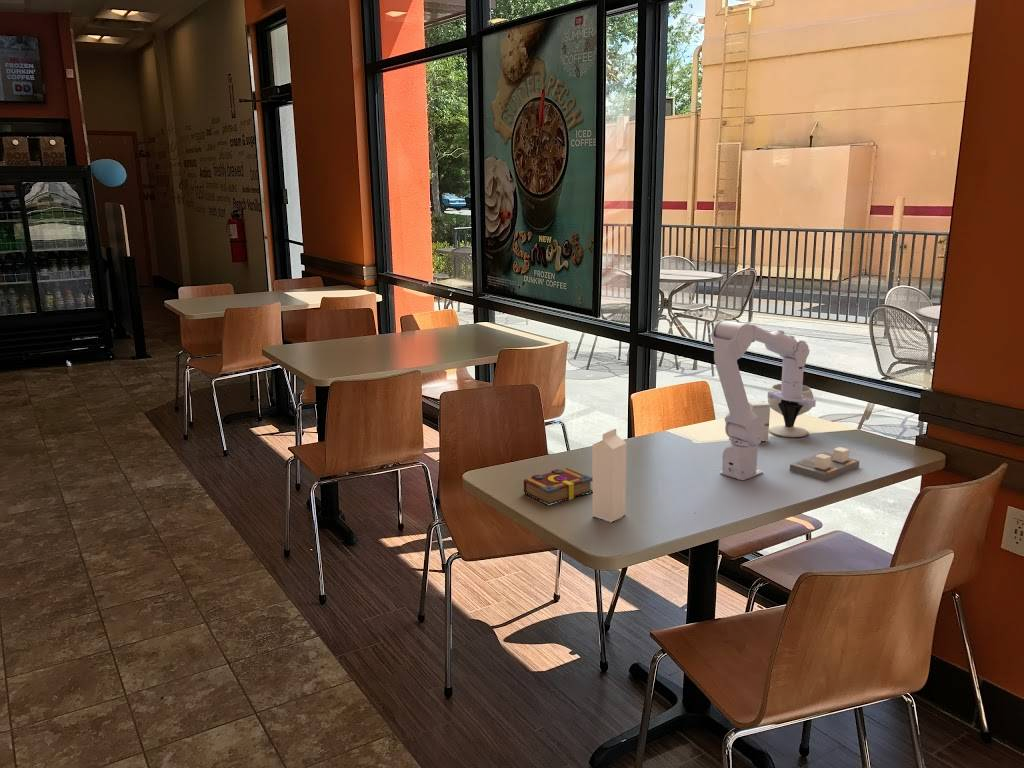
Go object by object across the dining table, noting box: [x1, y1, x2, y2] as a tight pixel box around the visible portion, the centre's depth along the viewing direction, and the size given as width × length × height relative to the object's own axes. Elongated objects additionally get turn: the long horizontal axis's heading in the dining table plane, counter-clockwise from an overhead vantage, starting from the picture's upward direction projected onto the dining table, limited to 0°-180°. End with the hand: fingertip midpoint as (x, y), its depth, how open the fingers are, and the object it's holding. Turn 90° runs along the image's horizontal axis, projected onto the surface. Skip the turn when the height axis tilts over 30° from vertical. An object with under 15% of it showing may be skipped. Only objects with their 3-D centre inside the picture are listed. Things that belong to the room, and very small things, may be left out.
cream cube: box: [832, 446, 850, 463], centre depth 234 cm, size 3×3×3 cm
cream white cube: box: [814, 453, 831, 470], centre depth 229 cm, size 3×3×3 cm
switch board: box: [789, 451, 860, 482], centre depth 234 cm, size 17×11×2 cm, turn 128°
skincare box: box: [748, 400, 771, 442], centre depth 260 cm, size 6×4×12 cm
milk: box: [592, 428, 627, 521], centre depth 202 cm, size 6×6×22 cm
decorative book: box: [523, 467, 593, 504], centre depth 220 cm, size 11×16×5 cm
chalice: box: [767, 383, 815, 438], centre depth 266 cm, size 14×14×15 cm
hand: (789, 426), depth 239 cm, fingers closed
